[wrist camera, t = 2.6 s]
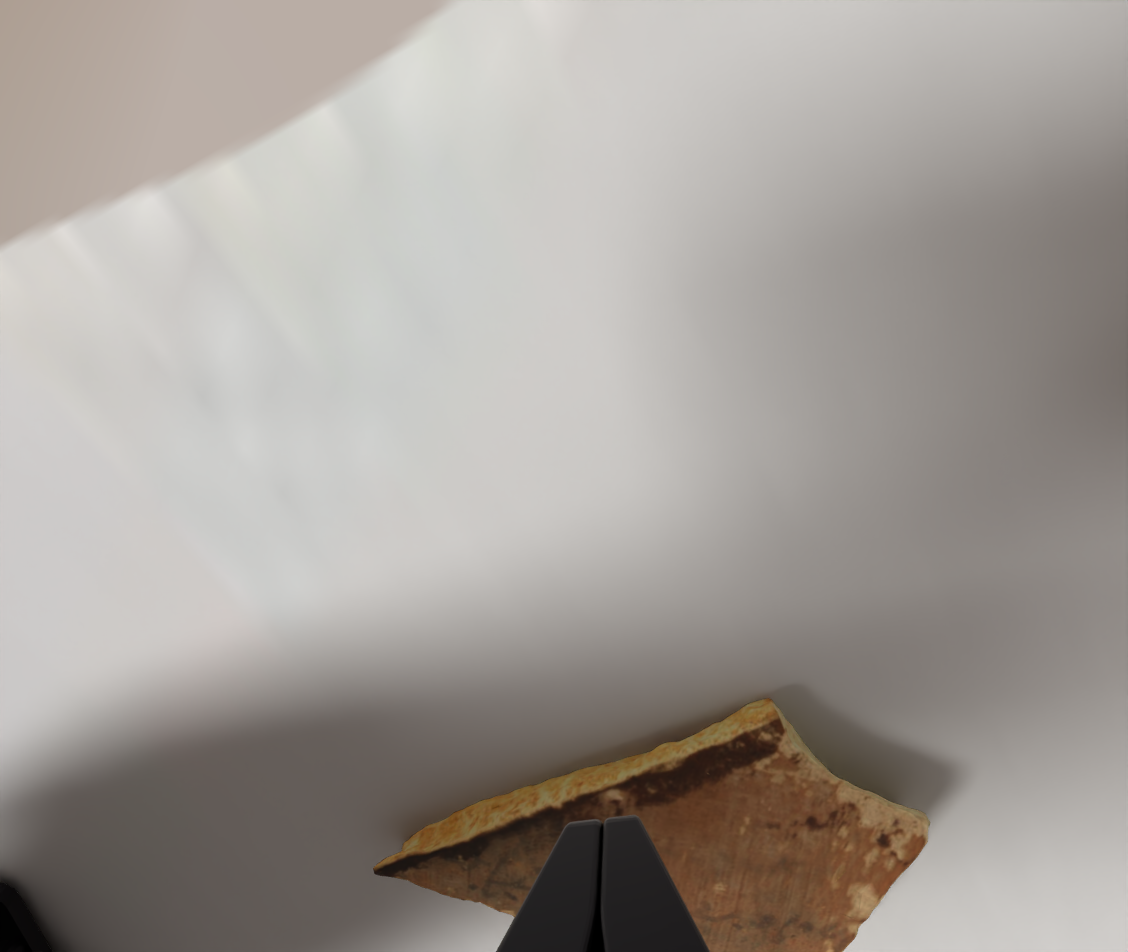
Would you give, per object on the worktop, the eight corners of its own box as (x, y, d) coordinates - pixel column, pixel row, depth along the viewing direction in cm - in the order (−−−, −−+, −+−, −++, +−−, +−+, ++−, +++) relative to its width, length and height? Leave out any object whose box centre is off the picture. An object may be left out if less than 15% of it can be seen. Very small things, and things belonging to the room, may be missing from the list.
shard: (388, 823, 18) (366, 885, 17) (490, 574, 16) (476, 616, 14) (776, 958, 19) (793, 1030, 17) (931, 741, 17) (968, 801, 15)
